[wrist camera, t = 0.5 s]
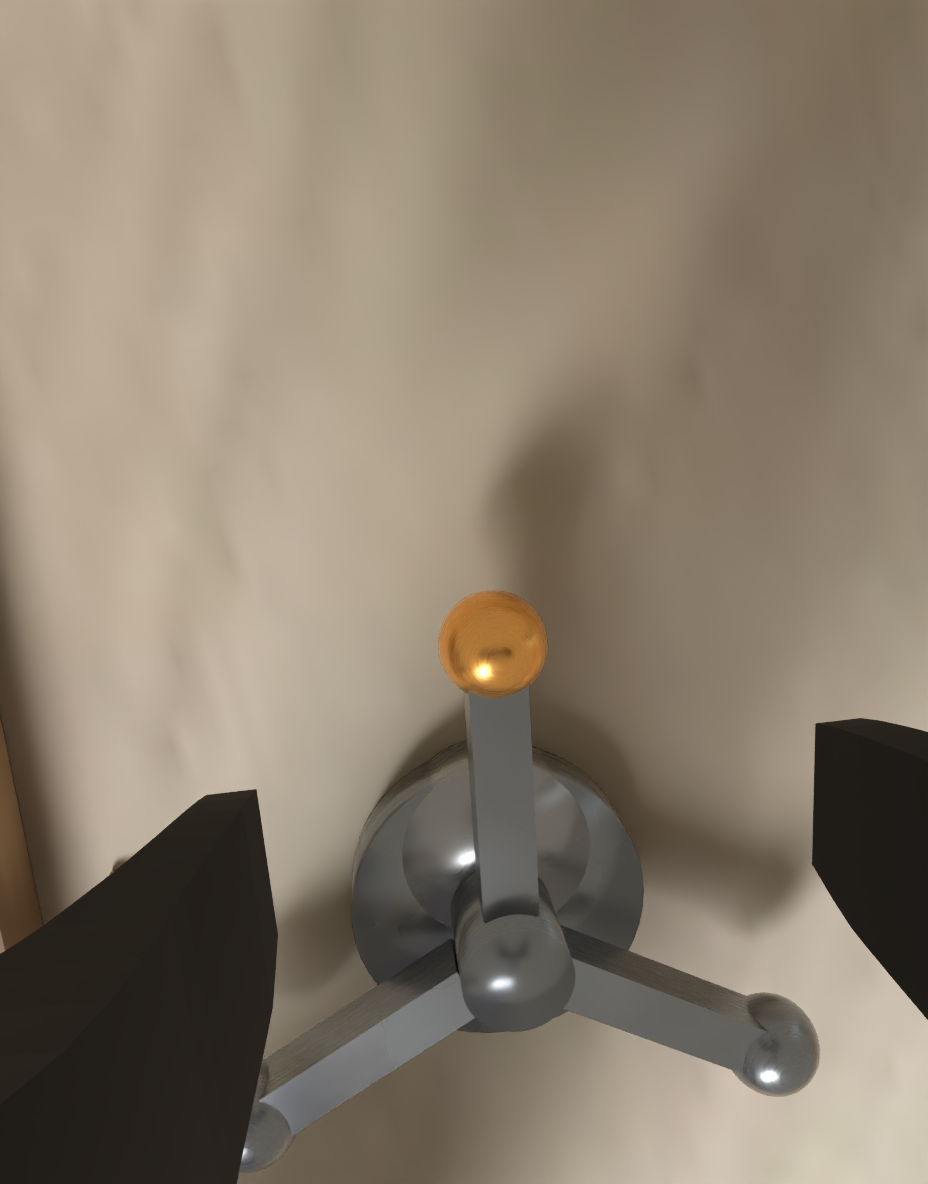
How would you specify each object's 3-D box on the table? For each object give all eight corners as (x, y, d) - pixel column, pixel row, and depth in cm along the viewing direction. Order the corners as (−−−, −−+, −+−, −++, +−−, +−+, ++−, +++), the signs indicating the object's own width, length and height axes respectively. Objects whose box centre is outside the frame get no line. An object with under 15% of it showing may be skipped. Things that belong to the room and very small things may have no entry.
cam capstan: (759, 991, 24) (838, 1115, 20) (227, 1061, 23) (198, 1209, 19) (769, 535, 21) (865, 574, 17) (155, 587, 20) (101, 643, 16)
